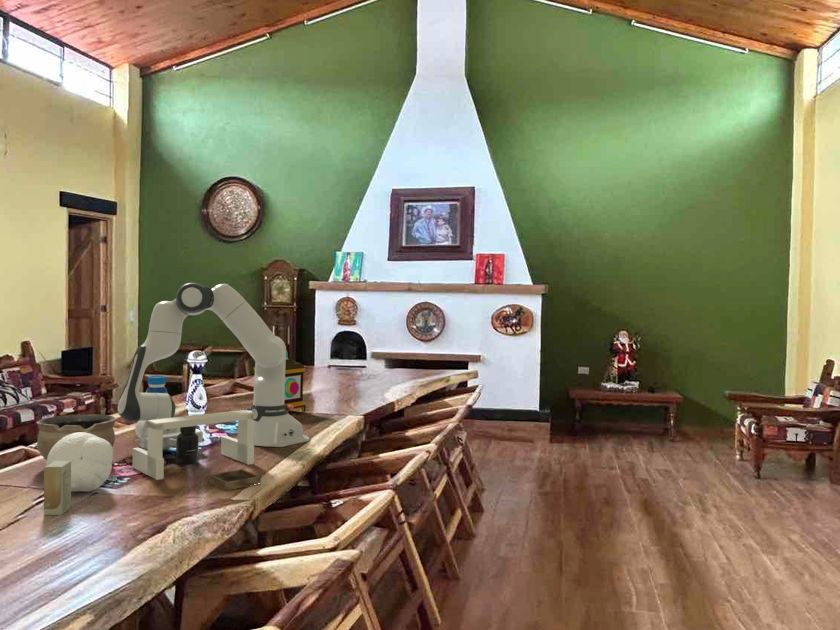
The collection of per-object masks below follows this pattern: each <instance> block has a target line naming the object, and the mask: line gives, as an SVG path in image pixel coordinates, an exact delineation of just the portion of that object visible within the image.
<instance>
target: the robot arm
mask: <svg viewBox="0 0 840 630" xmlns="http://www.w3.org/2000/svg"><path fill="white" fill-rule="evenodd" d="M207 310H208V311H211V312H213V313H214V314H215V315H217V316H218V318H219V319H220V320H221V321H222V322H223V324H224V325H225V326H226V327H227V328H228V329H229V330H230V331H231V333H233V335H234V336H235V337H236V339H238V341H239V342H240V344H241V345H242V346H243V347H244V349H245V351H247V352H248V354H249V355H250V357H252V359H253V360H254V362H255V364H254V366H255V371H254V378H253V402H254V404H253V403H252V404H251V406H252V411H251V412H253V445H254V446H258V447H275V448H283V447H287V446H293V445H296V444H302V443H305V442H310V437H309V436H307V435H305V434H304V429H303V425H302V423H301V422H300V421H299V420H297V419H296V418H295V417H293V416H292V415H290V414H289V411H293V410H294V409H295V408H294V406H293V405H288V406H287V405H286V404H284V393H285V365H286V351H287V347H286V344H285V342H284V340H283V339H282V338H280V336H277V335H275V334H274V333H273V332H272V330H271V329H270V328H269V326H268V325H267V324H266V322H265V321H264V319H262V318H261V316H260V315H259V314H258V313H257V311H256V310H255V309H254V308H253V307H252V306H251V305H250V304H249V302H248V301H247V300H246V299H245V298H244V297H243V296H242V295H241V294H240V293H239V292H238V291H237V290H236V289H235V288H233V287H232V286H230V285H229V284H228V283H220V284H217V285H214V286H213V287H208V286H205V285H203V284H201V283H197V282H188V283H185V284H182V285H181V286H180V288H178V290H177V292H176V296H175V298H174V299H173V300H171V301H170V300H162V301H159V302H157V303H156V304H155V305H154V307H153V310H152V312H151V315H150V321H149V325H148V333H147V336H146V339H145V341H144V342H143V343H142V344H141V345H139V346H138V347H137V348H136V350H135V352H134V354H133V358H132V361H131V364H130V367H129V370H128V374H127V377H126V380H125V384H124V388H123V391H122V392H121V395H120V397H119V400H118V402H117V413H118V415H119V416H120V418H122V419H123V420H124V421H125V422H127V423H130V422H131V423H133V422H136V424H135V427H134V429H135V434H136V436H137V438H136V439H135V440H134V441H135V442H136V443H137V444H139V446H140V448H141V449H144V450H147V444H148V420H155V419H164V418H174V417H176V416H175V415H176V402H175V401H174V399H173V398H172V396H171V395H170V394H169V393H168V394H167V393H146V392H140V388H141V385H142V382H143V377H144V374H145V371H146V369H147V367H148V366H149V365H151V364H153V363H155V362H157V361H161V360H163V359H167V358H169V357H171V356H173V355H174V354H175V353H177V351H178V350H179V348H180V346H181V341H182V331H183V326H184V325H183V323H184V320H186V319H187V318H191V317H197V316H201V315H203V313H205V312H206V311H207ZM293 408H294V409H293ZM180 433H181V432H180V428H171V429H163V451H164V450H169V449H171V448H173V447H176V442H177V436H178V434H180ZM195 433H196V434H198V436H199V443H202V442H203V438H204V436H203V435H204V433H203V431H202V430H201V429H198V428H196V431H195Z"/></svg>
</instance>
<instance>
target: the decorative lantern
mask: <svg viewBox="0 0 840 630" xmlns="http://www.w3.org/2000/svg"><path fill="white" fill-rule="evenodd" d="M252 368H253V371H254V372H255V365H254V366H253V367H252ZM306 369H307V368H306V366H305V365H304V364H302V363H301V362H297V361H295V360H294V358H293V359H292V358H291V356H288V350H286V365H285V393H284V404H286V405H287V406H288V405H293V406H294V408H293V409H292V410H294V409H300V408H301V409H300V410H301V412H302V413H305V412H306V407H307V406H306V403H305V401H304V399H303V398H304V397H303V395H304V394H303V393H304V392H303V391H304V387H303V386H304V373H305V370H306ZM252 404H254V401H253V402H252ZM250 412H252V405H251V411H250Z"/></svg>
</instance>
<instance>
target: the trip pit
mask: <svg viewBox="0 0 840 630" xmlns="http://www.w3.org/2000/svg"><path fill="white" fill-rule="evenodd" d="M207 480H208V481H207V482H208V483H209V484H211V485H214V486H215V487H217V488H219V489H221V490H223V491H232V489H233V490H238V489H237V488H239V489H242V488H241V487H244V488H247V487H246V486H249V487H251V486H250V485H254V484H258V483H262V476H260V475H257V474H255V473H253V472H250V471H248V470H245V469H244V468H242V469H241V468H240V469H234V470H229V471H224V472H218V473H217V472H216V473H211V474H208V475H207ZM254 486H255V485H254Z"/></svg>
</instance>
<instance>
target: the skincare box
mask: <svg viewBox="0 0 840 630" xmlns="http://www.w3.org/2000/svg"><path fill="white" fill-rule="evenodd" d="M43 468H44V469H43V472H44V473H43V515H44V516H62V515H63V514H65V513H66V512H67V511H68V510H70V508H72V491H71V461H53V462H51V463H50V464H48V465H47V464H46V465H45V466H44V467H43Z"/></svg>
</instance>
